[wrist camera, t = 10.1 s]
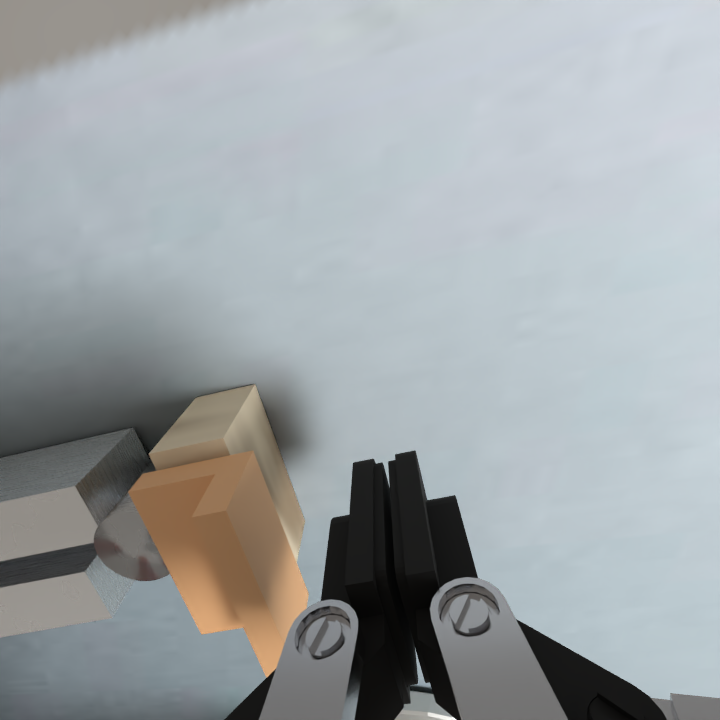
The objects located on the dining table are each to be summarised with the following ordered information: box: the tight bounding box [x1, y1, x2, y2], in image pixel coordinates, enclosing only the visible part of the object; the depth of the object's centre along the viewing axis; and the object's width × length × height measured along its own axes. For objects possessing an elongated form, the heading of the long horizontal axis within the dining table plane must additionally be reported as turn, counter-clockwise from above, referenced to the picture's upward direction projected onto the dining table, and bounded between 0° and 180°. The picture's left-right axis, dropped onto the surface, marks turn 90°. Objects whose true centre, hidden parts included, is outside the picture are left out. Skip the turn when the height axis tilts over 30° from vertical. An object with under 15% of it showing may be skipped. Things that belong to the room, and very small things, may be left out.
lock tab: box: [128, 451, 309, 677], centre depth 12 cm, size 5×3×2 cm, turn 14°
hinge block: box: [149, 384, 305, 563], centre depth 15 cm, size 6×2×4 cm, turn 14°
